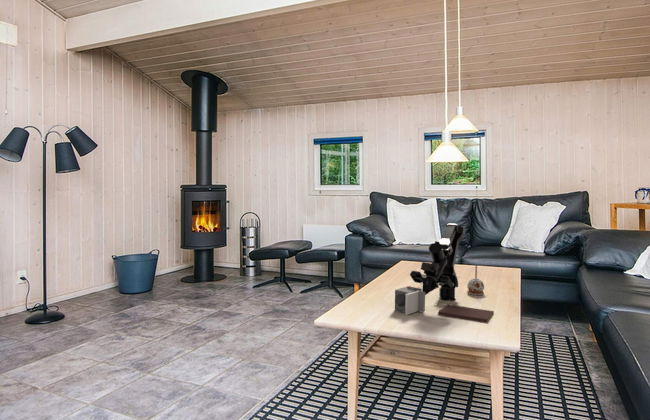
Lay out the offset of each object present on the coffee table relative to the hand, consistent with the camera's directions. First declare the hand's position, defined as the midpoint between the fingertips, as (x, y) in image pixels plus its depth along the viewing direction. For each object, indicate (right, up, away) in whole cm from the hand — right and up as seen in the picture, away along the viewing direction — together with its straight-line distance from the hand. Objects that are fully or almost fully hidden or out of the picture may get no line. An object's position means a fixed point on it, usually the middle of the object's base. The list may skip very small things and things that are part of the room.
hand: (423, 295), depth 185 cm
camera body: (-6, -7, +3) cm, 10 cm away
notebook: (+18, -8, -2) cm, 20 cm away
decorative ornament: (+34, -6, +32) cm, 47 cm away
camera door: (-4, -7, -3) cm, 9 cm away
